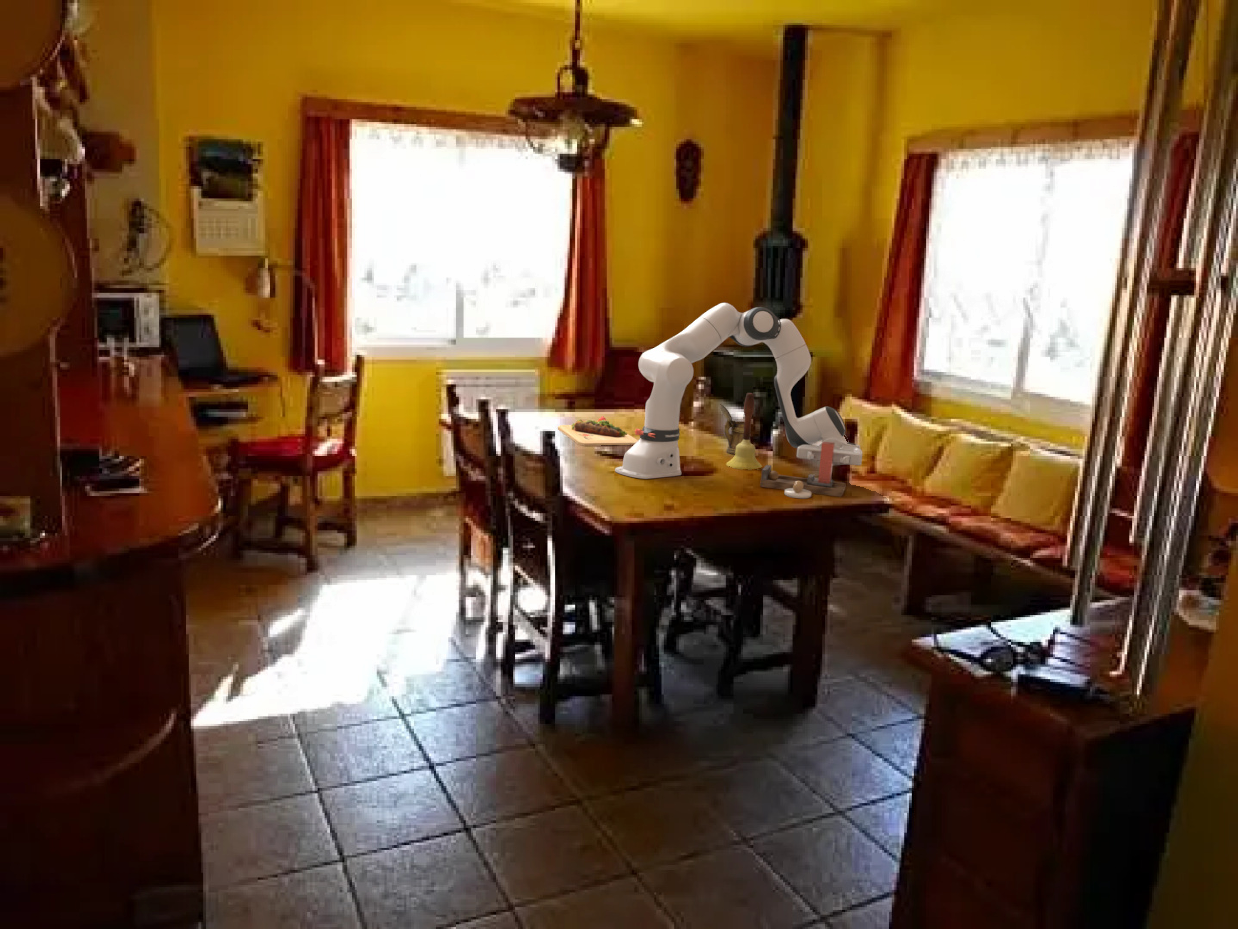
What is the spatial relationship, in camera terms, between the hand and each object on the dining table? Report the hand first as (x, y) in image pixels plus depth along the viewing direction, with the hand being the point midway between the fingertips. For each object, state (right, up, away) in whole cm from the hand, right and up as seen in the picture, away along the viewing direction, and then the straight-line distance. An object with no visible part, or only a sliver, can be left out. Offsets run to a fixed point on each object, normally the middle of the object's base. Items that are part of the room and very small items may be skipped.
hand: (826, 459), depth 299 cm
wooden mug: (-23, +2, +53) cm, 57 cm away
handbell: (-21, -2, +32) cm, 38 cm away
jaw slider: (-2, -8, +2) cm, 8 cm away
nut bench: (-7, -9, +4) cm, 12 cm away
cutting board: (-72, +8, +70) cm, 101 cm away
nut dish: (-10, -11, -6) cm, 16 cm away
